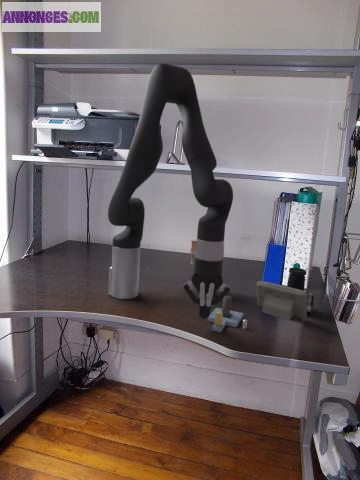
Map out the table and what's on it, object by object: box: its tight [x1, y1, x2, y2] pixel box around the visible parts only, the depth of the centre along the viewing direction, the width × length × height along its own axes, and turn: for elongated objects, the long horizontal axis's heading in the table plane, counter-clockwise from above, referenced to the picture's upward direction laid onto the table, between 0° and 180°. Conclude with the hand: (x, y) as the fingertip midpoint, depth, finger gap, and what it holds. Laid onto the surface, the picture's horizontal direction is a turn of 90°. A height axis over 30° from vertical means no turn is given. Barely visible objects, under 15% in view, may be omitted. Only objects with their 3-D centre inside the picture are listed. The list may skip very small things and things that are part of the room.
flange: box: [207, 307, 244, 333], centre depth 106 cm, size 14×8×5 cm, turn 158°
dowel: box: [241, 318, 248, 330], centre depth 103 cm, size 1×1×3 cm
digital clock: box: [256, 280, 309, 322], centre depth 116 cm, size 16×9×11 cm, turn 45°
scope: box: [286, 267, 315, 317], centre depth 122 cm, size 8×14×10 cm
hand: (203, 317), depth 101 cm, fingers closed
